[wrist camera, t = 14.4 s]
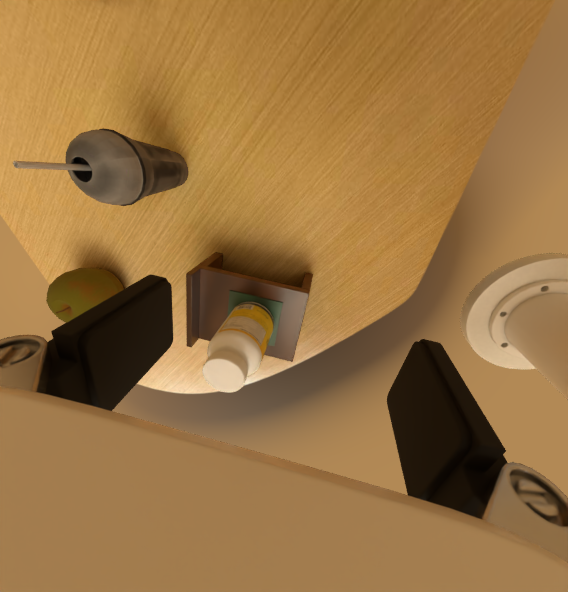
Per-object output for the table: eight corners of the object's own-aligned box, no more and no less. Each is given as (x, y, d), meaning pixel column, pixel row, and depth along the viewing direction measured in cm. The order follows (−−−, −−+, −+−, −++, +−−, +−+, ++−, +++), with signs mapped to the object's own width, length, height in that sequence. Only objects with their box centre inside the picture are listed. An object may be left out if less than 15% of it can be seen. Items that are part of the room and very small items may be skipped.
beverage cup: (193, 203, 39) (77, 231, 21) (148, 186, 39) (-5, 201, 22) (200, 150, 36) (70, 132, 18) (151, 132, 36) (-27, 96, 18)
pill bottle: (245, 343, 40) (214, 404, 29) (223, 308, 38) (181, 361, 27) (283, 330, 38) (263, 392, 27) (261, 293, 35) (232, 344, 25)
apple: (80, 286, 50) (19, 314, 40) (94, 248, 46) (30, 270, 36) (125, 317, 51) (77, 352, 42) (143, 283, 47) (94, 313, 37)
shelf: (312, 274, 41) (307, 301, 32) (298, 335, 46) (290, 372, 38) (216, 252, 42) (186, 273, 34) (212, 314, 48) (186, 346, 39)
